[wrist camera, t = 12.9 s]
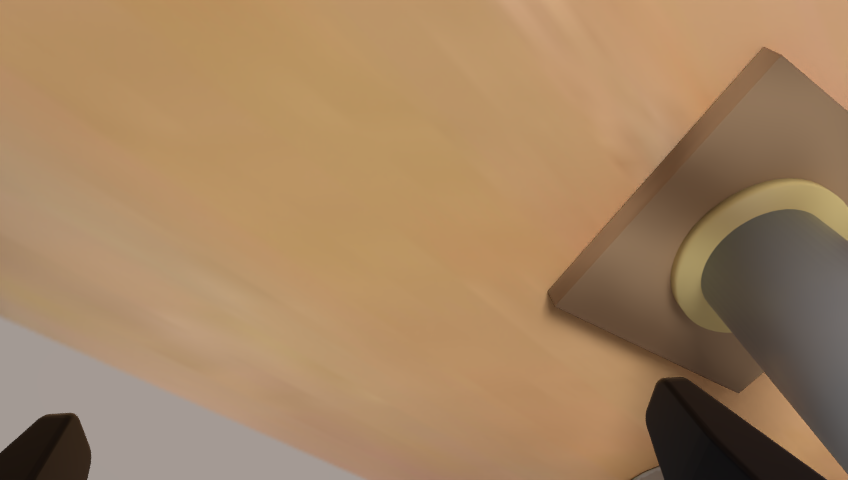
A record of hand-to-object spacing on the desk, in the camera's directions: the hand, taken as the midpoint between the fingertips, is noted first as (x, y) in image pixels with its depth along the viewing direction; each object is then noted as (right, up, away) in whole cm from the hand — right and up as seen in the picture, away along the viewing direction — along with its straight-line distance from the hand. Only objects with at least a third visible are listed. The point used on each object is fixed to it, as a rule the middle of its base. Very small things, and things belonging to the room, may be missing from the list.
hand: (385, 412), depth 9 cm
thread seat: (+14, +3, +16) cm, 22 cm away
